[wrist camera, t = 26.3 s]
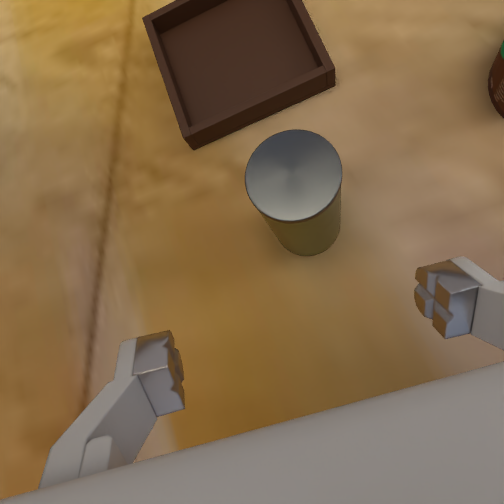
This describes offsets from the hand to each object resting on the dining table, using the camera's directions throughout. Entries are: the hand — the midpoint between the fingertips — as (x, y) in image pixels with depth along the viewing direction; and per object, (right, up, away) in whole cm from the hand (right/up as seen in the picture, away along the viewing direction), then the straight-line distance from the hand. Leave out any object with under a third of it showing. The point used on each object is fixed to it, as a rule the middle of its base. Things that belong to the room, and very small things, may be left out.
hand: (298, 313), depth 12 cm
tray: (-3, +21, +26) cm, 33 cm away
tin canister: (+3, +4, +21) cm, 22 cm away
